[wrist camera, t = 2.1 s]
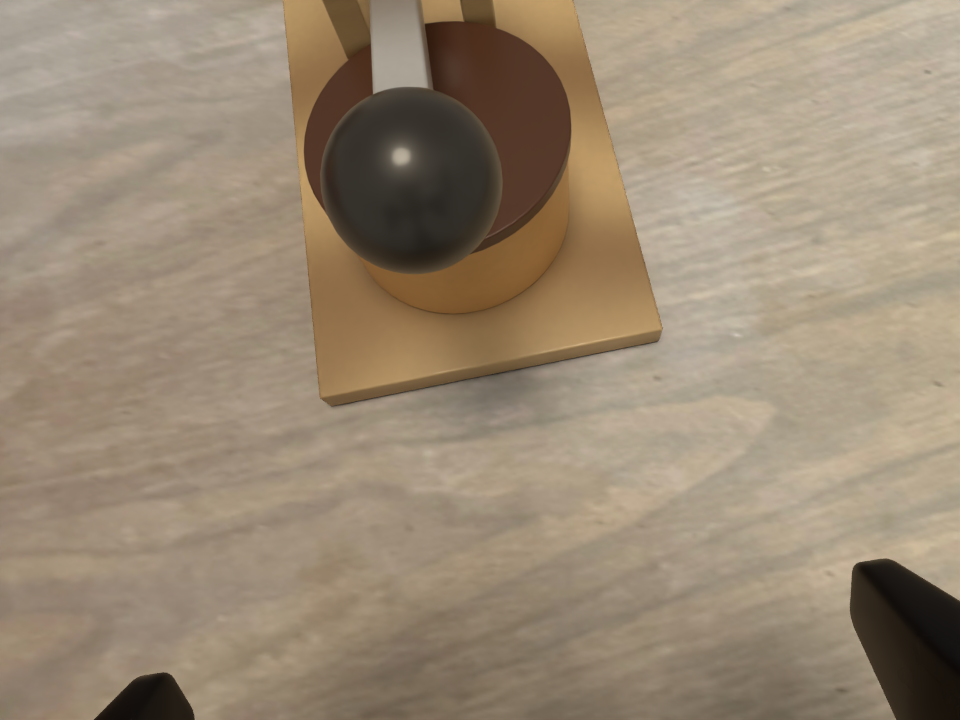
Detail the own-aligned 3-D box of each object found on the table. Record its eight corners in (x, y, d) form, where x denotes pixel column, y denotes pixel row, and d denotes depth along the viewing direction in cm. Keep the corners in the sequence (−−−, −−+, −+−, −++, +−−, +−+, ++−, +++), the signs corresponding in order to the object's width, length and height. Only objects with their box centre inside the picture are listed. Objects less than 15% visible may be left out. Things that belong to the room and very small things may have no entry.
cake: (494, 358, 24) (474, 301, 19) (310, 253, 26) (250, 179, 21) (613, 173, 25) (622, 77, 20) (430, 89, 27) (399, -14, 23)
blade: (526, 290, 12) (499, 142, 10) (355, 325, 13) (285, 190, 10) (448, -75, 22) (424, -197, 19) (351, -51, 22) (315, -169, 20)
